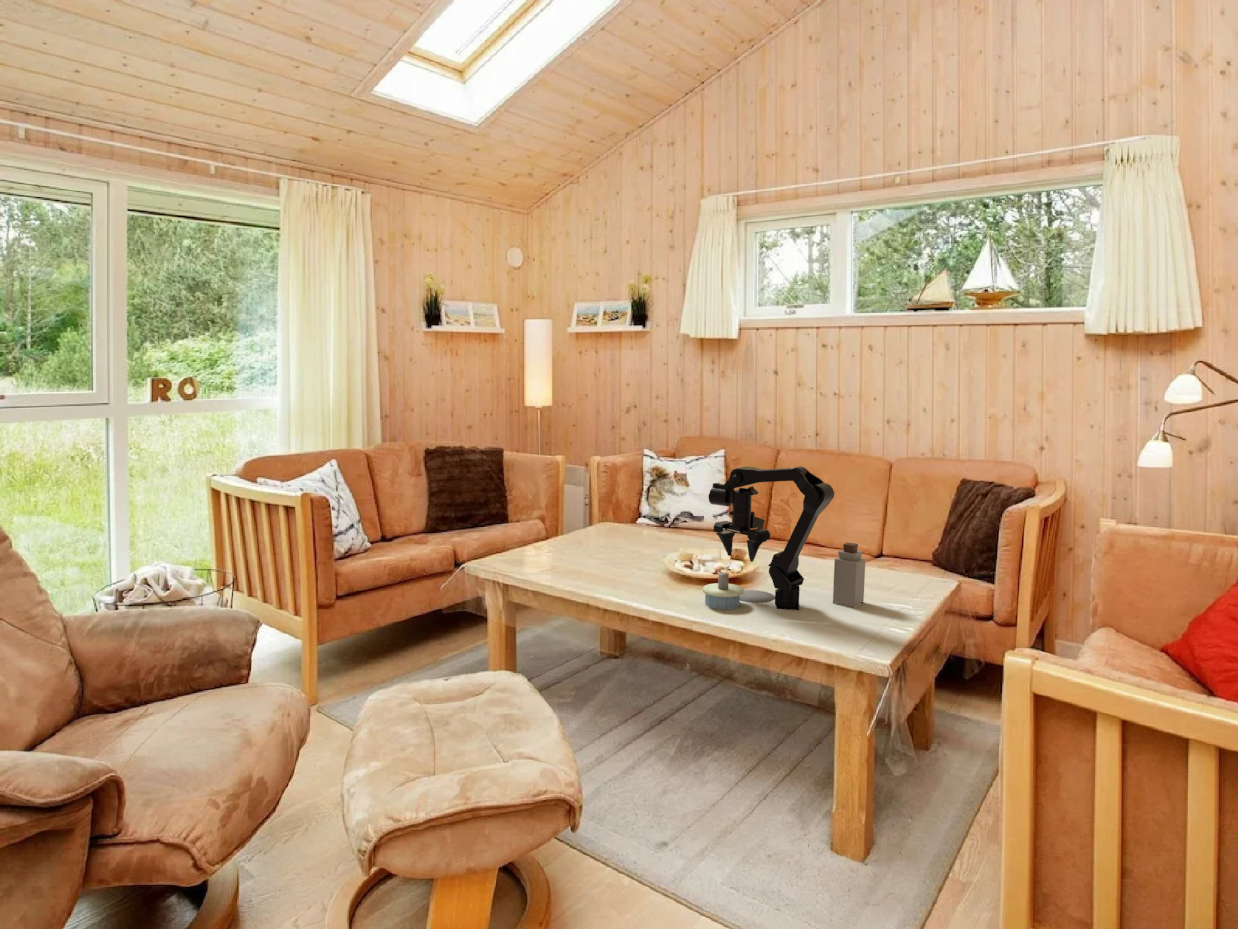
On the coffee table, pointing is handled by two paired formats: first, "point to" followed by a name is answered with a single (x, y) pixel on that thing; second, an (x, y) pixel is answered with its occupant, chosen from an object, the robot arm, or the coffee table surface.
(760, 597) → the mat
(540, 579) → the coffee table surface
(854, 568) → the perfume bottle
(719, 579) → the lid
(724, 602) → the bowl
